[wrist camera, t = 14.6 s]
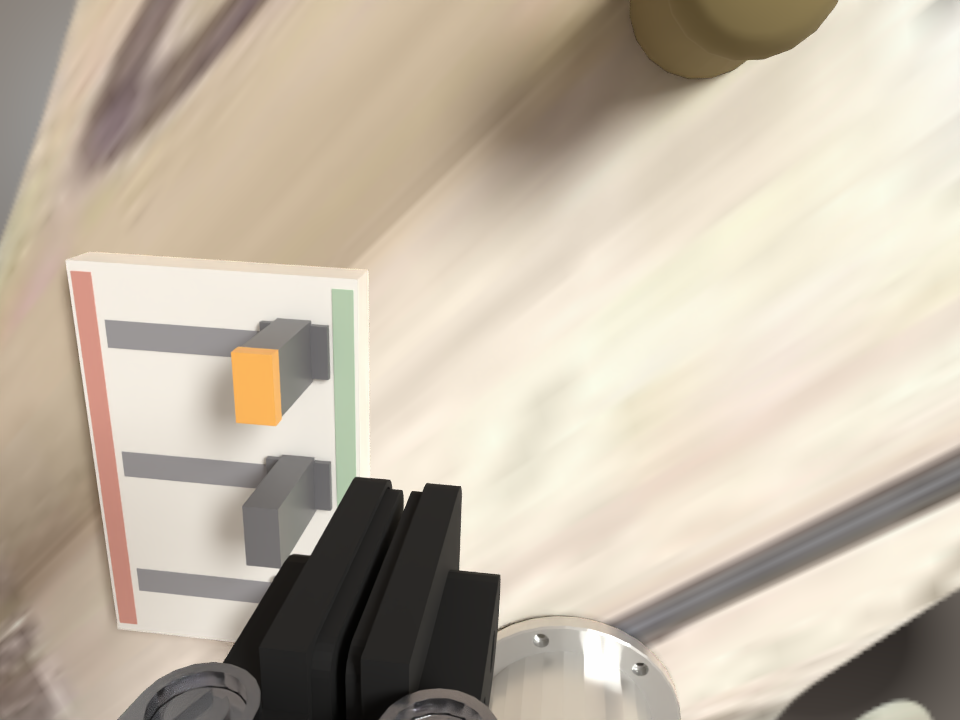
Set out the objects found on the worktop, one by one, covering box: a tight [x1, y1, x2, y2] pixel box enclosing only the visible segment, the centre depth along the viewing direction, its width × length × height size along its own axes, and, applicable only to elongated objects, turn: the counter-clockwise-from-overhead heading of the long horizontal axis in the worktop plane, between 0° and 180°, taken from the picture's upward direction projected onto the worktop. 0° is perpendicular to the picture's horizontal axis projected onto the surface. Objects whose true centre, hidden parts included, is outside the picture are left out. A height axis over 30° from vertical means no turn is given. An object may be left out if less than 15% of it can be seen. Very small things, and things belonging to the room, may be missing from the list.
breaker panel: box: [65, 251, 370, 642], centre depth 40 cm, size 14×21×2 cm, turn 178°
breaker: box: [242, 455, 332, 569], centre depth 36 cm, size 3×3×5 cm
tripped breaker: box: [231, 318, 330, 426], centre depth 34 cm, size 3×3×5 cm
